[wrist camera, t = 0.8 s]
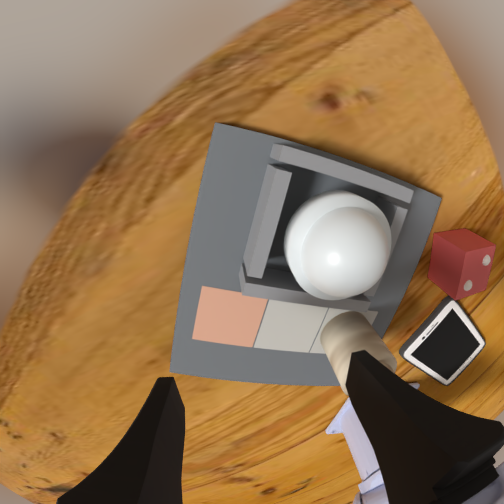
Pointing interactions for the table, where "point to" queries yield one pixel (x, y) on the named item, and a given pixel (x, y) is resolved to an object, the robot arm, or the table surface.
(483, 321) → the table surface
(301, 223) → the dome
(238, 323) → the game board
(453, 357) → the cell phone
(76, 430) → the table surface
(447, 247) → the red die
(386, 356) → the pawn
